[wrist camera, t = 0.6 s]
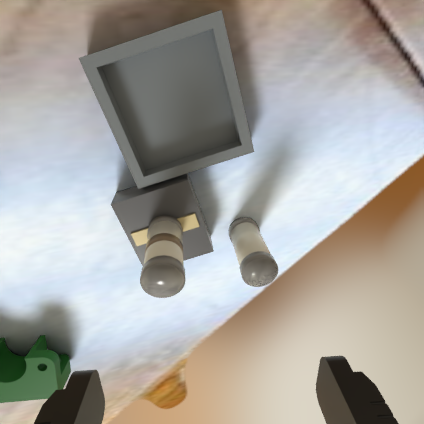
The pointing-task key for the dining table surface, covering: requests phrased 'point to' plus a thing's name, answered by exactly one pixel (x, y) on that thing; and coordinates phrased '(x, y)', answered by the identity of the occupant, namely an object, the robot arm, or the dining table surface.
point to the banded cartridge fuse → (163, 258)
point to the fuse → (252, 253)
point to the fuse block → (163, 205)
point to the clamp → (32, 372)
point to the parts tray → (172, 99)
